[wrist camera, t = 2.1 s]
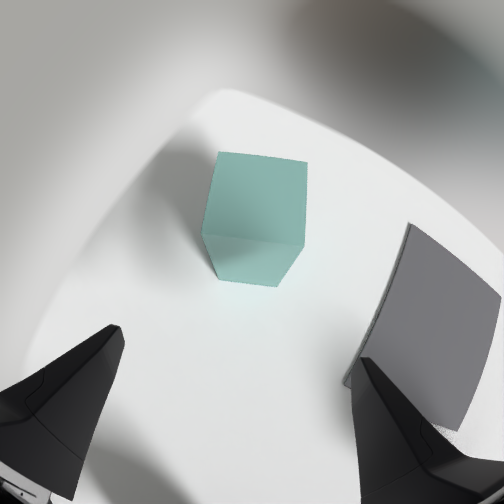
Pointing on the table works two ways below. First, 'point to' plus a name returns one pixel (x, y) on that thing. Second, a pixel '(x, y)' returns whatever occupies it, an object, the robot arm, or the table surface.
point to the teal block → (255, 217)
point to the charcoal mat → (434, 330)
